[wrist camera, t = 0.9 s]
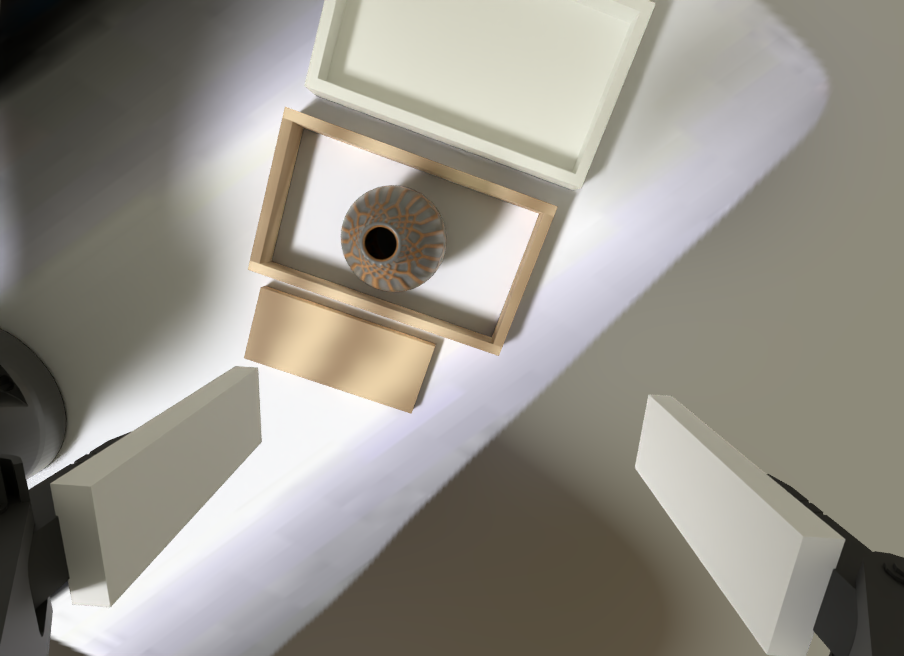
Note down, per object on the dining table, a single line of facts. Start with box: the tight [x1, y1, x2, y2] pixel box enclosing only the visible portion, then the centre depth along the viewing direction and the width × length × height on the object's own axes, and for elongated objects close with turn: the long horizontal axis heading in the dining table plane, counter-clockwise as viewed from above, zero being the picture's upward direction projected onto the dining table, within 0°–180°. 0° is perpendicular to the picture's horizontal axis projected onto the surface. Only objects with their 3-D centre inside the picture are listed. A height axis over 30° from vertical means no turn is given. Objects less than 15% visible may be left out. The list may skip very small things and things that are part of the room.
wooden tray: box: [248, 107, 558, 356], centre depth 31 cm, size 19×11×2 cm, turn 71°
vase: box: [341, 185, 447, 292], centre depth 28 cm, size 7×7×9 cm
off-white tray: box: [304, 0, 656, 191], centre depth 28 cm, size 19×11×2 cm, turn 71°
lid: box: [244, 286, 436, 413], centre depth 34 cm, size 14×6×1 cm, turn 71°
